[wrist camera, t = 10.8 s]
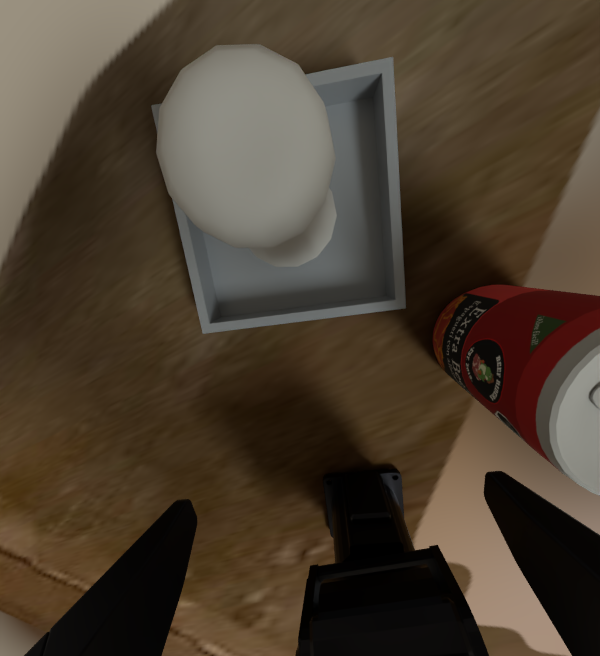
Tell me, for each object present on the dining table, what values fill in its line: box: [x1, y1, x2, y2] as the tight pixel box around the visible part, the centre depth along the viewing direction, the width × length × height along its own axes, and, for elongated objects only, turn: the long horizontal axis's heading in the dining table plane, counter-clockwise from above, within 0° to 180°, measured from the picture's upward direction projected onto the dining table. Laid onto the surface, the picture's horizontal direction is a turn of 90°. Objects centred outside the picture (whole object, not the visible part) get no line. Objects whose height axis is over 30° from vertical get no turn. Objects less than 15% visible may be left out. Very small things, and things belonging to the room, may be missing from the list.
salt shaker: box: [156, 44, 337, 267], centre depth 12 cm, size 6×6×13 cm
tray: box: [151, 57, 406, 334], centre depth 18 cm, size 13×13×3 cm
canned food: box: [433, 285, 600, 495], centre depth 15 cm, size 8×8×11 cm
